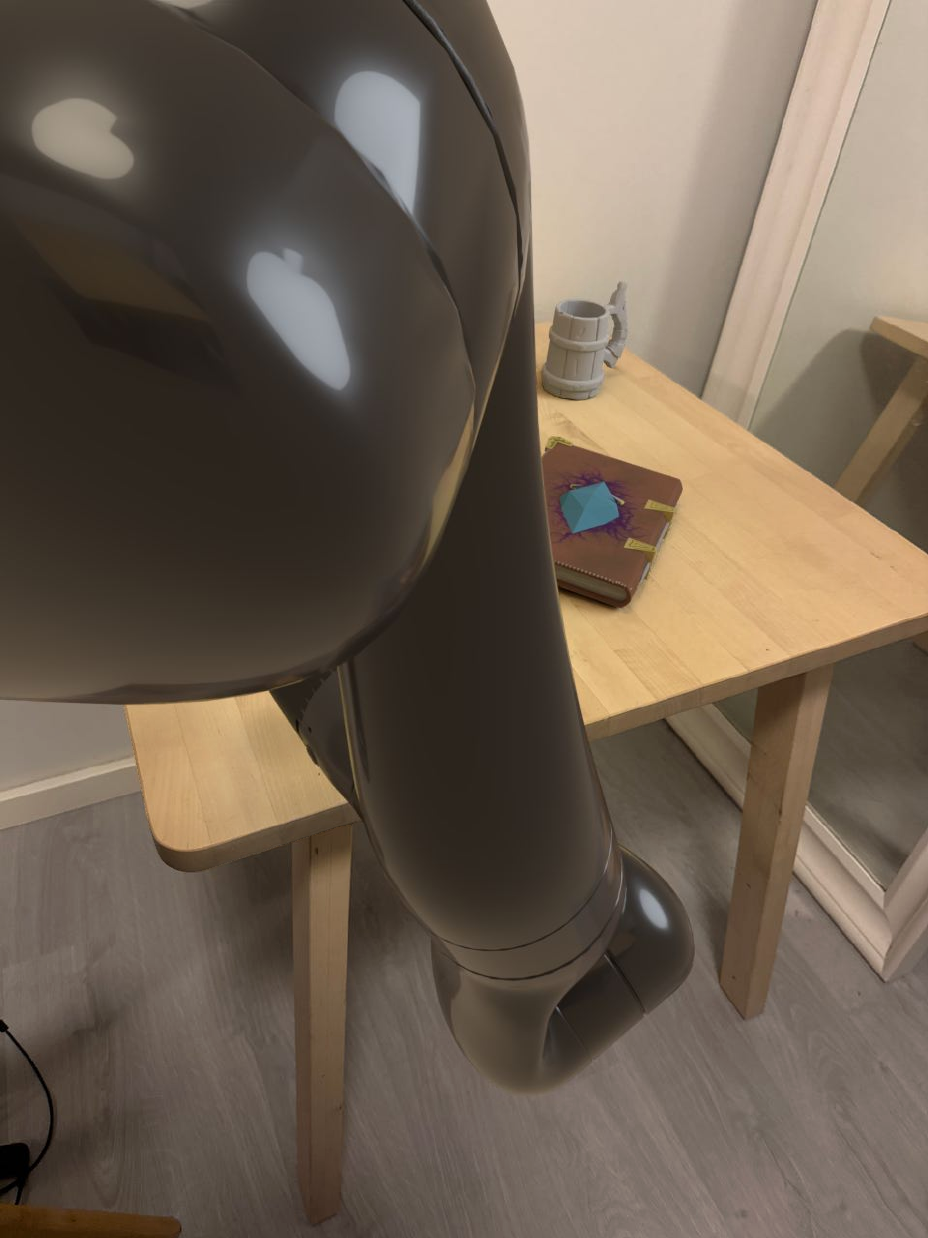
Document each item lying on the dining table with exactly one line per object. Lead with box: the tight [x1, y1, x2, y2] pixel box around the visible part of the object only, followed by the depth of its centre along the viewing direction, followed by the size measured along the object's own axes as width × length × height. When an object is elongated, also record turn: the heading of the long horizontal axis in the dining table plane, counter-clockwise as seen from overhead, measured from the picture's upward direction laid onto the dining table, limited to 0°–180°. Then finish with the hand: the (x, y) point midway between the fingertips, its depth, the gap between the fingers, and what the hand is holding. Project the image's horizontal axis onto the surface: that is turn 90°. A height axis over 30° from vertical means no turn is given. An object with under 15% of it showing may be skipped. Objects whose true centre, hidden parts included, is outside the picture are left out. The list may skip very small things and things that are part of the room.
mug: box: [541, 280, 630, 401], centre depth 109 cm, size 8×12×12 cm, turn 126°
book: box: [541, 435, 684, 609], centre depth 88 cm, size 16×25×5 cm, turn 157°
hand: (239, 540), depth 58 cm, fingers closed
